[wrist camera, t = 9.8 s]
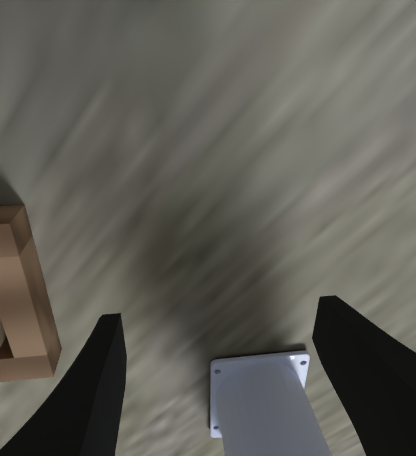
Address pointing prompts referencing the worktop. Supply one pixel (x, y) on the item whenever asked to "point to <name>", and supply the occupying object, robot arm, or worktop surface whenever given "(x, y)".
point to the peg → (2, 333)
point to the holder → (24, 303)
